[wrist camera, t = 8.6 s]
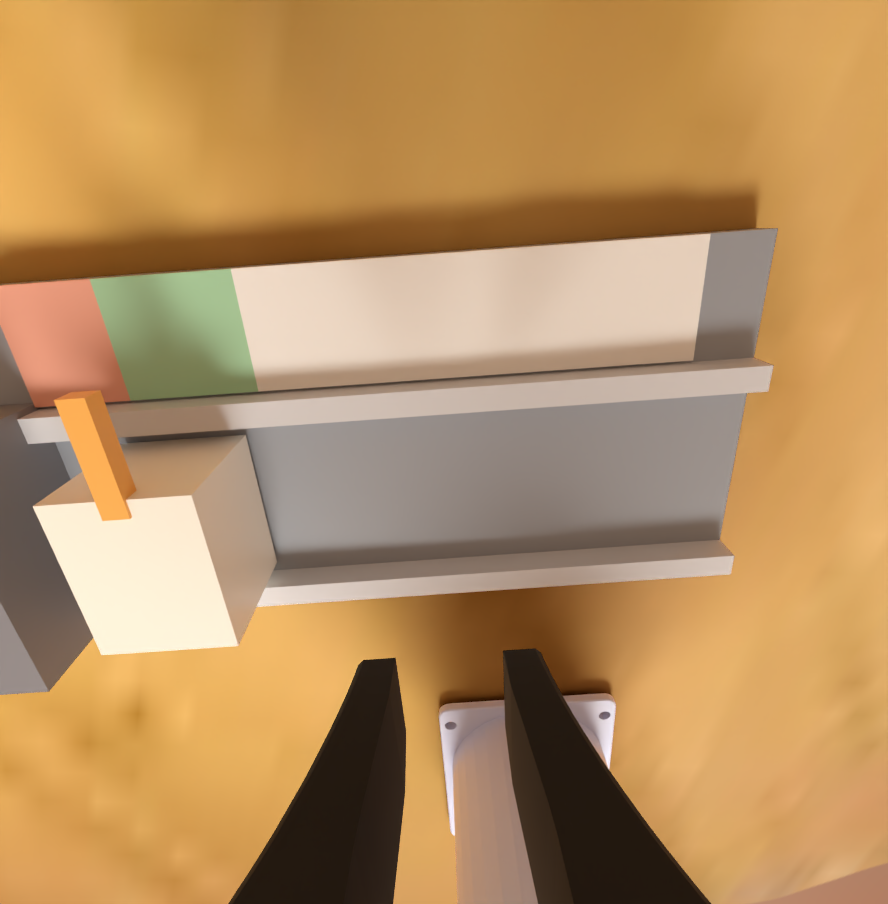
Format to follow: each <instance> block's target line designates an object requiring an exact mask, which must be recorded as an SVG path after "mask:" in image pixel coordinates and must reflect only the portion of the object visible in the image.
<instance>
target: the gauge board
mask: <svg viewBox="0 0 888 904" xmlns="http://www.w3.org/2000/svg"><path fill="white" fill-rule="evenodd" d="M777 231H778V228H755V229H741V230H728V231H714V232H700V233H687V234H673V235H659V236H646V237H632V238H618V239H605V240H591V241H577V242H564V243H550V244H536V245H523V246H509V247H496V248H482V249H468V250H455V251H441V252H427V253H414V254H400V255H386V256H373V257H359V258H345V259H332V260H318V261H304V262H291V263H277V264H263V265H250V266H236V267H223V268H209V269H195V270H182V271H168V272H154V273H141V274H127V275H113V276H100V277H86V278H72V279H59V280H45V281H31V282H18V283H4V284H0V695H4V694H19V693H34V692H48V691H50V689H51V688H52V687H53V686H54V685H55V683H56V682H57V681H58V680H59V679H60V677H61V676H62V675H63V674H64V672H65V671H66V670H67V669H68V668H69V666H70V665H71V664H72V663H73V662H74V660H75V659H76V658H77V657H78V656H79V654H80V653H81V652H82V651H83V649H84V648H85V647H86V646H87V645H88V643H89V642H90V641H91V640H92V639H93V635H92V633H91V631H90V629H89V627H88V625H87V623H86V620H85V618H84V616H83V614H82V612H81V610H80V607H79V605H78V603H77V601H76V599H75V597H74V595H73V592H72V590H71V588H70V586H69V584H68V582H67V580H66V577H65V575H64V573H63V571H62V569H61V567H60V564H59V562H58V560H57V558H56V556H55V554H54V552H53V549H52V547H51V545H50V543H49V541H48V539H47V536H46V534H45V532H44V530H43V528H42V526H41V524H40V521H39V519H38V517H37V515H36V513H35V511H34V509H33V506H34V505H35V504H37V503H38V502H40V501H41V500H42V499H44V498H45V497H47V496H48V495H50V494H51V493H52V492H54V491H55V490H57V489H58V488H60V487H61V486H62V485H64V484H65V483H67V482H68V481H70V480H71V479H72V478H74V477H75V476H77V475H78V474H80V473H81V472H82V469H81V467H80V464H79V462H78V459H77V457H76V454H75V452H74V449H73V447H72V444H71V442H70V439H69V437H68V435H67V432H66V430H65V427H64V425H63V422H62V420H61V417H60V415H59V412H58V410H57V407H56V405H55V402H54V400H55V399H57V398H60V397H62V396H64V395H66V394H68V393H71V392H82V391H96V390H100V391H101V393H102V396H103V399H104V402H105V404H106V407H107V410H108V413H109V416H110V418H111V421H112V424H113V427H114V429H115V432H116V435H117V438H118V440H119V443H120V445H121V444H123V443H137V442H151V441H165V440H179V439H193V438H208V437H222V436H236V435H246V438H247V442H248V446H249V451H250V455H251V459H252V463H253V467H254V471H255V475H256V479H257V483H258V487H259V491H260V495H261V499H262V503H263V507H264V511H265V515H266V519H267V523H268V527H269V531H270V535H271V539H272V543H273V547H274V552H275V556H276V560H277V563H276V566H275V568H274V570H273V572H272V574H271V576H270V579H269V581H268V583H267V585H266V587H265V589H264V592H263V594H262V596H261V598H260V600H259V602H258V605H257V607H261V606H275V605H290V604H304V603H319V602H334V601H348V600H363V599H377V598H392V597H407V596H421V595H436V594H451V593H465V592H480V591H494V590H509V589H524V588H538V587H553V586H567V585H582V584H597V583H611V582H626V581H640V580H655V579H670V578H684V577H699V576H713V575H728V574H731V570H732V565H733V560H734V555H733V554H732V553H731V552H730V550H729V549H728V548H727V547H726V546H725V545H724V544H723V543H722V542H721V541H720V540H719V539H720V534H721V529H722V524H723V518H724V513H725V508H726V502H727V497H728V492H729V486H730V481H731V476H732V470H733V465H734V460H735V454H736V449H737V444H738V438H739V433H740V428H741V422H742V417H743V412H744V406H745V401H746V396H747V393H755V392H768V390H769V385H770V380H771V375H772V371H773V365H771V364H769V363H766V362H764V361H761V360H759V359H756V358H754V353H755V348H756V343H757V337H758V332H759V327H760V321H761V316H762V311H763V305H764V300H765V295H766V289H767V284H768V279H769V273H770V268H771V263H772V257H773V252H774V247H775V241H776V236H777Z"/></svg>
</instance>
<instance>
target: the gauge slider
mask: <svg viewBox="0 0 888 904" xmlns="http://www.w3.org/2000/svg"><path fill="white" fill-rule="evenodd" d="M54 402H55V405H56V407H57V410H58V412H59V415H60V417H61V420H62V422H63V425H64V427H65V430H66V432H67V435H68V437H69V439H70V442H71V444H72V447H73V449H74V452H75V454H76V457H77V459H78V462H79V464H80V467H81V469H82V472H81V473H80V474H78V475H77V476H75V477H74V478H72V479H71V480H70V481H68V482H67V483H65V484H64V485H62V486H61V487H60V488H58V489H57V490H55V491H54V492H52V493H51V494H50V495H48V496H47V497H45V498H44V499H42V500H41V501H40V502H38V503H37V504H35V505H34V506H33V509H34V511H35V513H36V515H37V517H38V519H39V521H40V524H41V526H42V528H43V530H44V532H45V534H46V536H47V539H48V541H49V543H50V545H51V547H52V549H53V552H54V554H55V556H56V558H57V560H58V562H59V564H60V567H61V569H62V571H63V573H64V575H65V577H66V580H67V582H68V584H69V586H70V588H71V590H72V592H73V595H74V597H75V599H76V601H77V603H78V605H79V607H80V610H81V612H82V614H83V616H84V618H85V620H86V623H87V625H88V627H89V629H90V631H91V633H92V635H93V638H94V640H95V642H96V644H97V646H98V648H99V651H100V653H101V655H112V654H126V653H141V652H156V651H171V650H185V649H200V648H215V647H229V646H239V644H240V641H241V639H242V637H243V635H244V633H245V631H246V628H247V626H248V624H249V622H250V620H251V618H252V615H253V613H254V611H255V609H256V607H257V605H258V602H259V600H260V598H261V596H262V594H263V592H264V589H265V587H266V585H267V583H268V581H269V579H270V576H271V574H272V572H273V570H274V568H275V566H276V563H277V560H276V556H275V552H274V547H273V543H272V539H271V535H270V531H269V527H268V523H267V519H266V515H265V511H264V507H263V503H262V499H261V495H260V491H259V487H258V483H257V479H256V475H255V471H254V467H253V463H252V459H251V455H250V451H249V446H248V442H247V438H246V435H236V436H222V437H208V438H193V439H179V440H165V441H151V442H137V443H123V444H121V445H120V443H119V440H118V438H117V435H116V432H115V429H114V427H113V424H112V421H111V418H110V416H109V413H108V410H107V407H106V404H105V402H104V399H103V396H102V393H101V391H100V390H96V391H82V392H71V393H68V394H66V395H64V396H62V397H60V398H57V399H55V400H54Z"/></svg>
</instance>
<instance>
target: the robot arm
mask: <svg viewBox="0 0 888 904" xmlns="http://www.w3.org/2000/svg"><path fill="white" fill-rule="evenodd" d="M503 665H504V700H493V701H478V702H463V703H449V704H445V705H443V706H441V708H440V709H439V723H440V733H441V743H442V753H443V762H444V772H445V782H446V792H447V801H448V811H449V821H450V831H451V833H452V834H453V835H454V836H455V849H456V875H457V901H458V904H711V903H710V902H709V901H708V899H707V898H706V897H705V896H704V895H703V893H702V892H701V891H700V890H699V889H698V887H697V886H696V885H695V884H694V883H693V881H692V880H691V879H690V878H689V876H688V875H687V874H686V873H685V871H684V870H683V869H682V868H681V866H680V865H679V864H678V863H677V861H676V860H675V859H674V858H673V856H672V855H671V854H670V853H669V851H668V850H667V849H666V847H665V846H664V845H663V844H662V842H661V841H660V840H659V838H658V837H657V836H656V834H655V833H654V832H653V830H652V829H651V828H650V826H649V825H648V824H647V822H646V821H645V820H644V818H643V817H642V816H641V814H640V813H639V812H638V810H637V809H636V807H635V806H634V805H633V803H632V802H631V800H630V799H629V798H628V796H627V795H626V794H625V792H624V791H623V789H622V788H621V787H620V785H619V784H618V782H617V781H616V779H615V778H614V776H613V775H612V774H611V772H610V771H609V769H610V760H611V750H612V741H613V731H614V721H615V712H616V703H615V700H614V698H613V696H612V695H610V694H607V693H597V694H582V695H568V696H562V694H561V692H560V690H559V688H558V687H557V685H556V683H555V681H554V679H553V677H552V675H551V673H550V671H549V669H548V667H547V665H546V663H545V661H544V659H543V656H542V654H541V653H540V652H539V651H538V650H537V649H521V650H506V651H503ZM405 767H406V728H405V721H404V714H403V707H402V700H401V693H400V686H399V679H398V672H397V665H396V659H395V658H388V659H373V660H363V661H362V662H361V663H360V664H359V665H358V668H357V670H356V673H355V676H354V678H353V681H352V683H351V685H350V688H349V690H348V692H347V695H346V697H345V699H344V701H343V704H342V706H341V708H340V710H339V712H338V714H337V717H336V719H335V721H334V723H333V725H332V727H331V729H330V731H329V733H328V735H327V737H326V739H325V741H324V743H323V745H322V747H321V749H320V751H319V753H318V754H317V756H316V758H315V760H314V762H313V764H312V766H311V768H310V770H309V772H308V774H307V776H306V777H305V779H304V781H303V783H302V785H301V786H300V788H299V790H298V792H297V793H296V795H295V797H294V799H293V800H292V802H291V804H290V805H289V807H288V809H287V811H286V812H285V814H284V816H283V818H282V819H281V821H280V823H279V825H278V826H277V828H276V830H275V831H274V833H273V835H272V836H271V838H270V840H269V841H268V843H267V845H266V846H265V848H264V849H263V851H262V853H261V854H260V856H259V857H258V859H257V861H256V862H255V864H254V865H253V867H252V869H251V870H250V872H249V873H248V875H247V876H246V878H245V879H244V881H243V882H242V884H241V885H240V887H239V888H238V890H237V891H236V893H235V895H234V896H233V898H232V899H231V901H230V902H229V904H393V898H394V889H395V880H396V871H397V862H398V852H399V843H400V834H401V825H402V815H403V806H404V796H405Z"/></svg>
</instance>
